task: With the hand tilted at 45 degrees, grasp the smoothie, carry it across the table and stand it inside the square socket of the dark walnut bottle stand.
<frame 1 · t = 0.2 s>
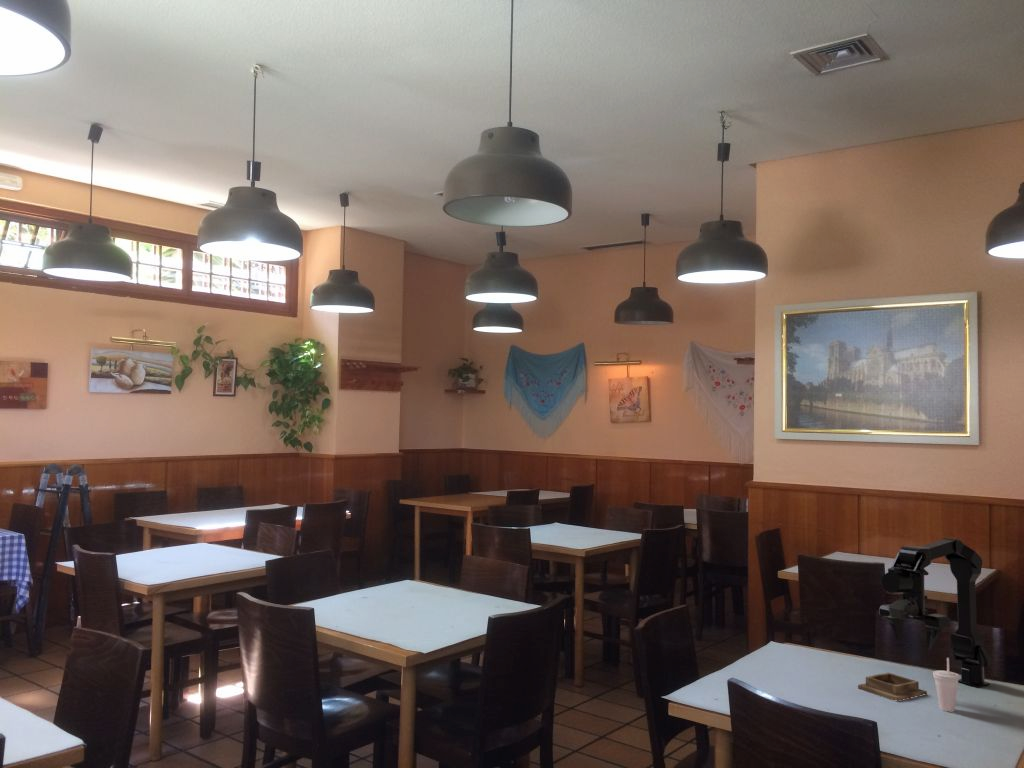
hand: (913, 646, 226), 15 cm above the table, tool pointing down, fingers open, 9 cm apart
smoothie: (947, 710, 215), on the table
bottle stand: (892, 691, 230), on the table
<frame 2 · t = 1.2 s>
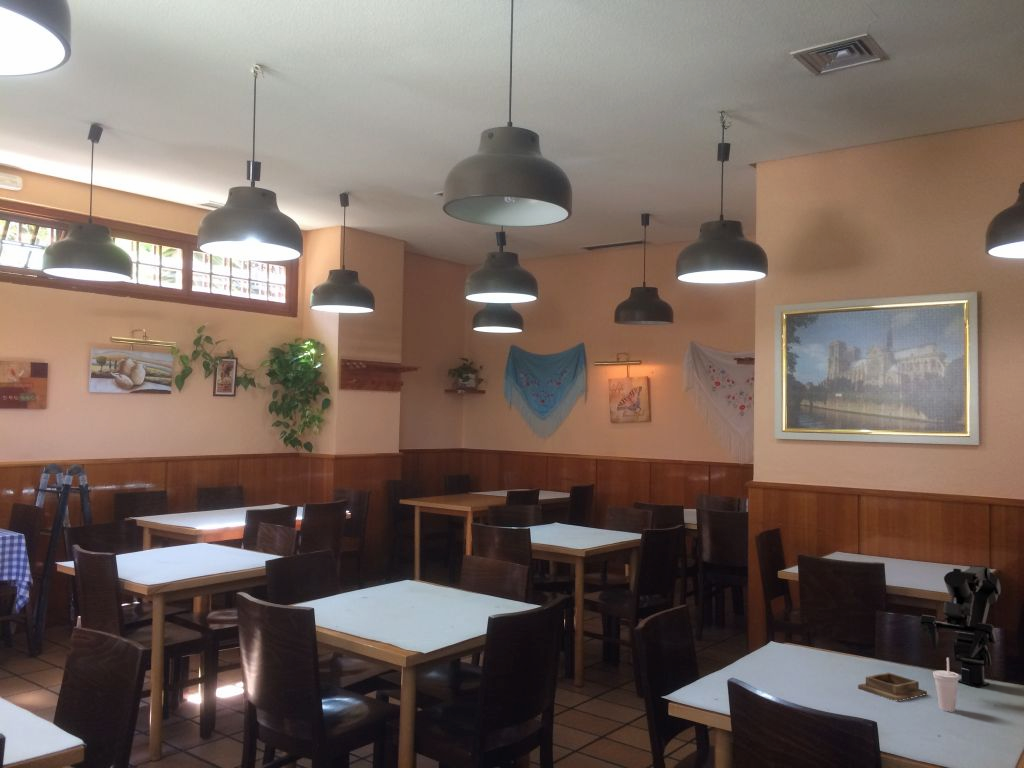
hand: (952, 653, 222), 13 cm above the table, tool tilted 45°, fingers open, 9 cm apart
nothing on the table moved.
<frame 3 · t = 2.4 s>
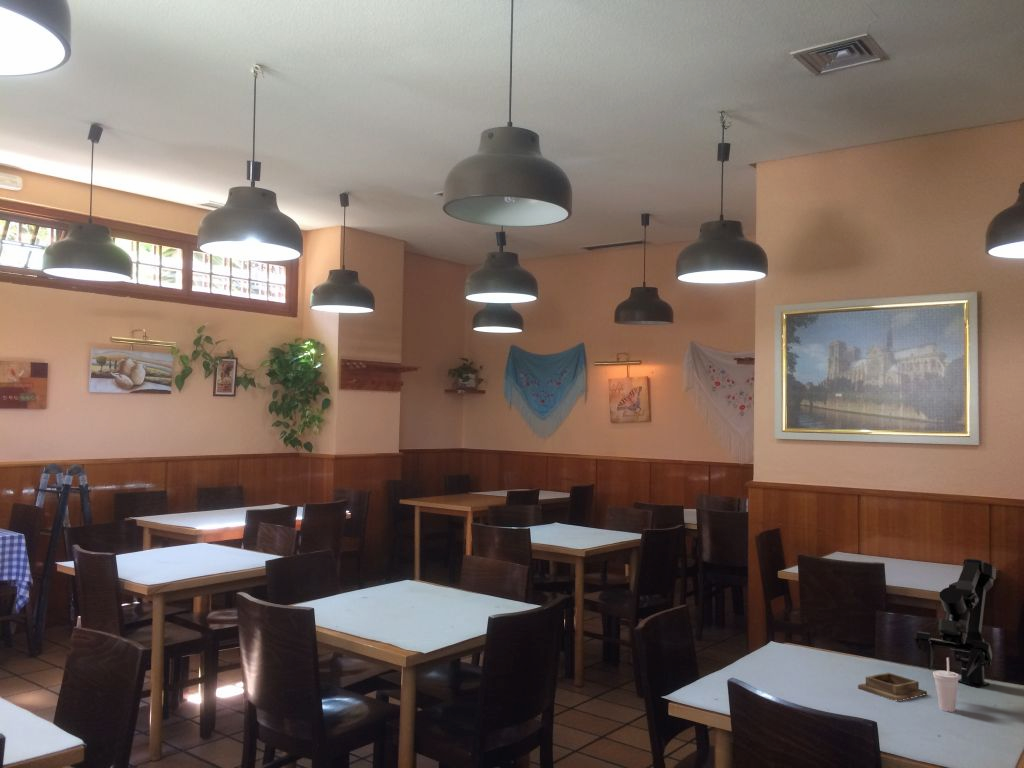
hand: (947, 672, 217), 10 cm above the table, tool tilted 45°, fingers open, 9 cm apart
nothing on the table moved.
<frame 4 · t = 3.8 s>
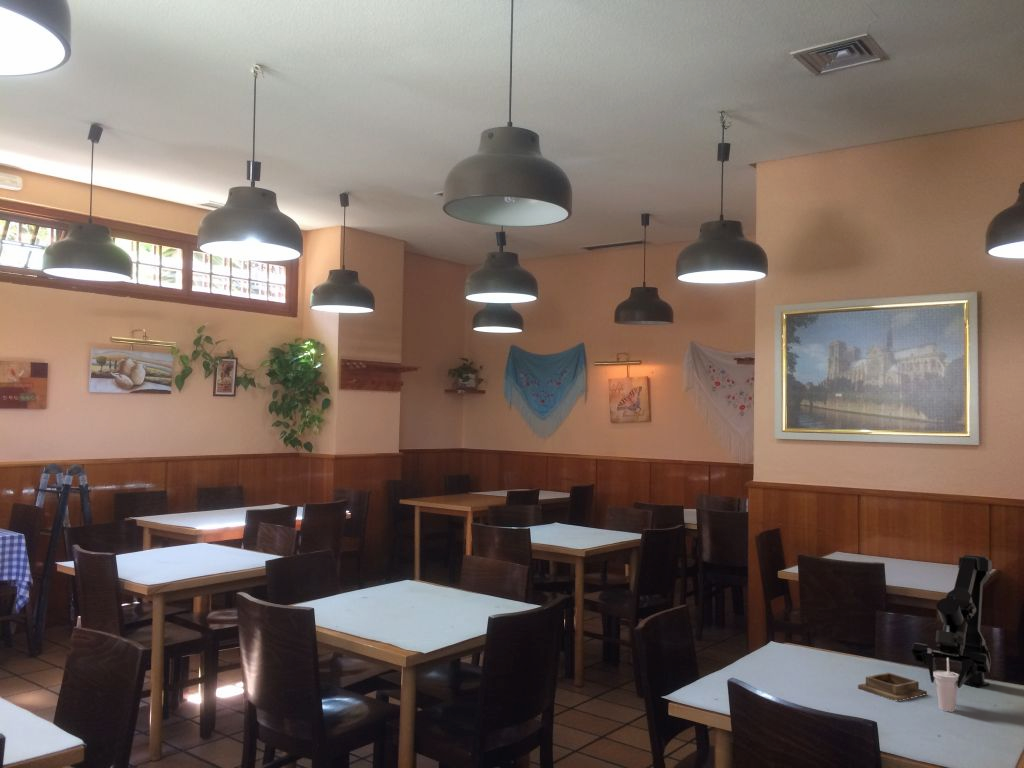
hand: (945, 684, 214), 7 cm above the table, tool tilted 45°, fingers closed on smoothie, 6 cm apart
smoothie: (947, 710, 215), on the table, touching gripper
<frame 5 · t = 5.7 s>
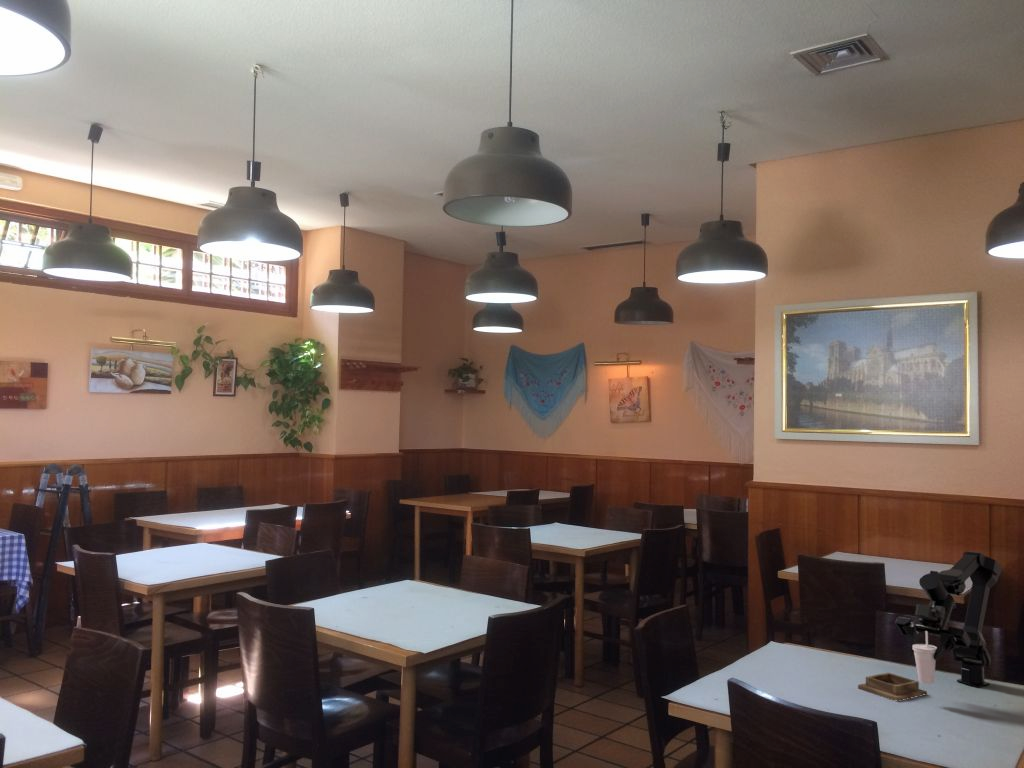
hand: (922, 656, 220), 13 cm above the table, tool tilted 45°, fingers closed on smoothie, 6 cm apart
smoothie: (926, 682, 220), point 6 cm above the table, touching gripper
when the fingers open (9 cm above the table, at t = 7.9 s): smoothie drops 1 cm, resting on bottle stand.
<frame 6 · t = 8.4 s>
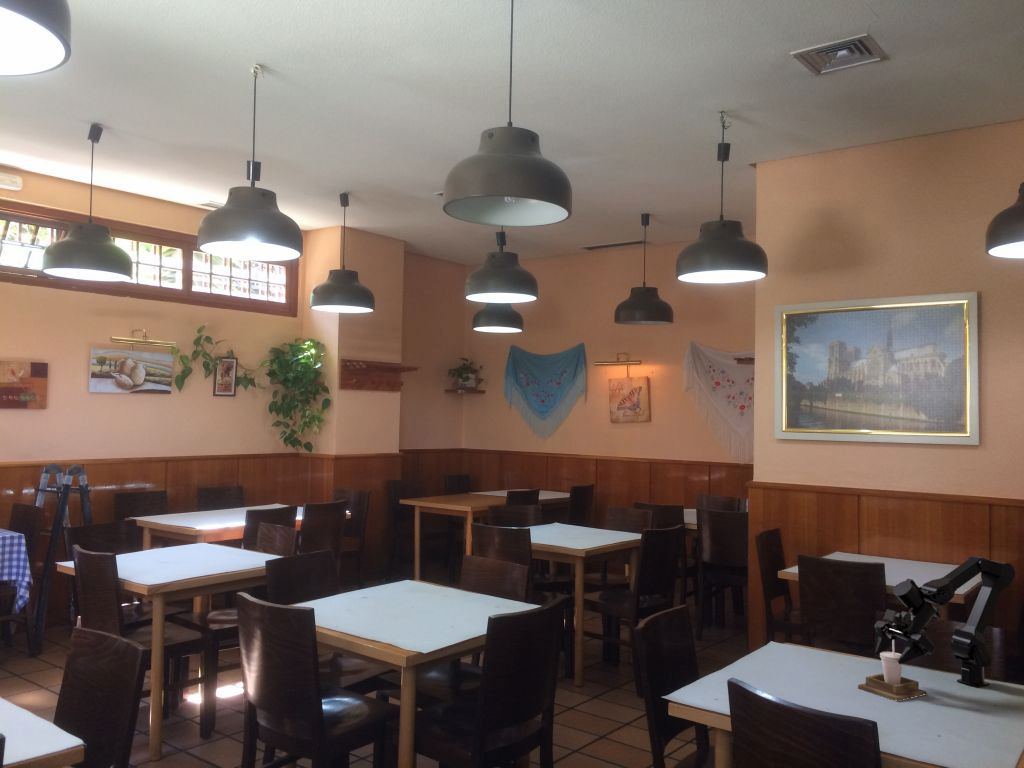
hand: (887, 658, 230), 10 cm above the table, tool tilted 45°, fingers open, 9 cm apart
smoothie: (892, 688, 230), point 1 cm above the table, touching bottle stand
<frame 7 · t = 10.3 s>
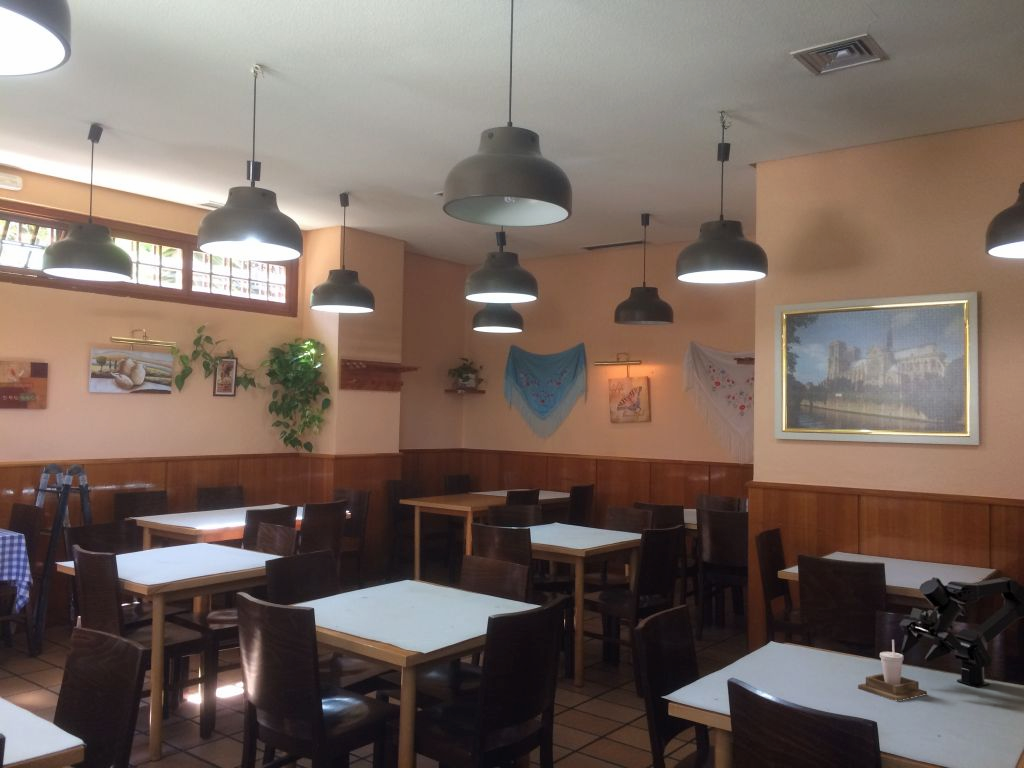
hand: (913, 656, 233), 10 cm above the table, tool tilted 45°, fingers open, 9 cm apart
nothing on the table moved.
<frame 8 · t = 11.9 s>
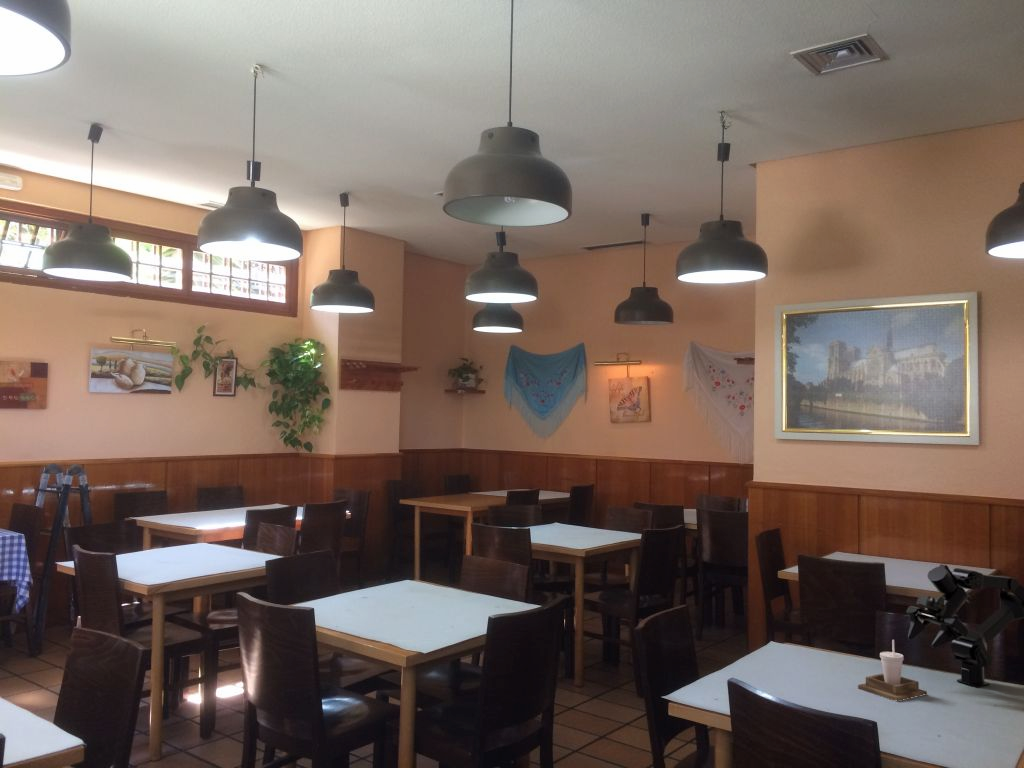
hand: (920, 642, 233), 14 cm above the table, tool tilted 45°, fingers open, 9 cm apart
nothing on the table moved.
at the end: smoothie 0.1 cm off-centre on the bottle stand, point 0.8 cm above the bottle stand's base; smoothie tilted 0°; the gripper is holding nothing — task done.
